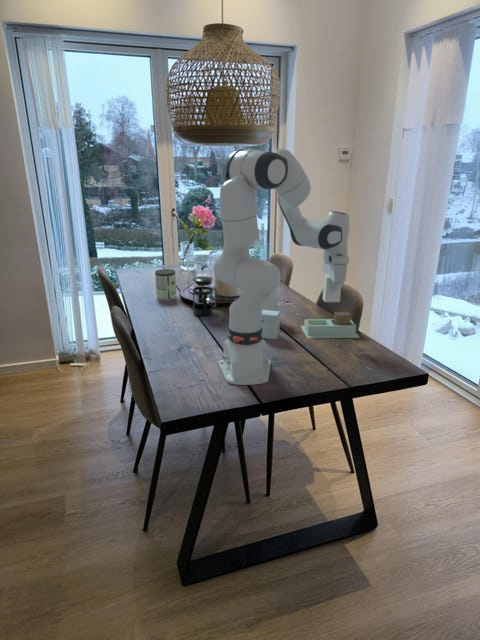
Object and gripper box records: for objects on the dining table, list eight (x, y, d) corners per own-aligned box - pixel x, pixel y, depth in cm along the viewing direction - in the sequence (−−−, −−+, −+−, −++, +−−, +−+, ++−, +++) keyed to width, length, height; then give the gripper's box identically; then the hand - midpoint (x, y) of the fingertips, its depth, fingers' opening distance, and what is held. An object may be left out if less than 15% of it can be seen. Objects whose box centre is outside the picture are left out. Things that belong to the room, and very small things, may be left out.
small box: (279, 334, 183) (280, 311, 179) (276, 339, 178) (277, 315, 174) (260, 332, 185) (261, 309, 181) (257, 337, 180) (258, 313, 176)
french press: (194, 317, 201) (193, 268, 193) (189, 311, 209) (188, 264, 201) (218, 315, 204) (218, 267, 196) (213, 309, 213) (213, 262, 205)
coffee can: (160, 294, 234) (158, 268, 229) (178, 295, 233) (177, 269, 228) (153, 300, 225) (152, 273, 220) (173, 301, 223) (172, 274, 218)
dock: (359, 339, 179) (361, 327, 177) (306, 340, 178) (307, 328, 176) (349, 327, 192) (350, 315, 190) (300, 327, 191) (300, 316, 189)
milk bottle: (275, 324, 194) (277, 281, 187) (258, 323, 195) (259, 279, 189) (277, 318, 201) (279, 276, 194) (260, 317, 203) (262, 275, 196)
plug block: (339, 302, 172) (342, 277, 169) (324, 302, 172) (326, 277, 168) (337, 298, 176) (339, 274, 173) (322, 299, 176) (324, 274, 172)
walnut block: (349, 332, 183) (351, 315, 180) (335, 333, 183) (336, 315, 180) (346, 329, 187) (348, 311, 184) (332, 329, 187) (334, 311, 184)
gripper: (320, 249, 177) (318, 282, 182) (333, 260, 158) (330, 296, 163) (336, 249, 177) (333, 282, 182) (350, 260, 158) (346, 296, 163)
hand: (331, 289), depth 172 cm, fingers closed on plug block, 4 cm apart
